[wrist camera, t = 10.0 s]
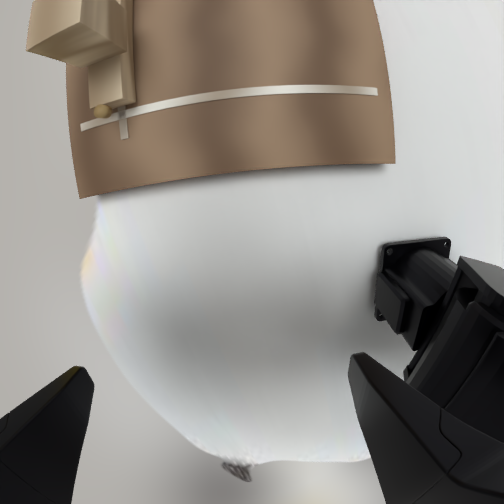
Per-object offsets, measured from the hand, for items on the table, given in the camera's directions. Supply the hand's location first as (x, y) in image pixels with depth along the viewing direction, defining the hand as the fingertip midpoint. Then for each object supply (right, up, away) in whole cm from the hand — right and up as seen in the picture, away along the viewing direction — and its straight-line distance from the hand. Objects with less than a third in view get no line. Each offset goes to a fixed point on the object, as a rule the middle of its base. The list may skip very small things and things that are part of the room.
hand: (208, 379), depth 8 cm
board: (-1, +16, +7) cm, 17 cm away
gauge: (-7, +18, +5) cm, 20 cm away
